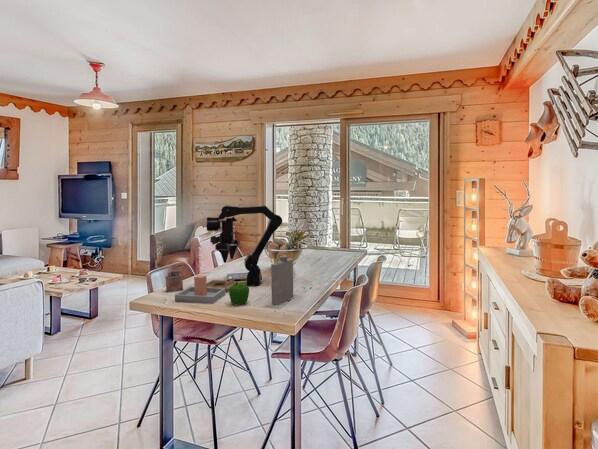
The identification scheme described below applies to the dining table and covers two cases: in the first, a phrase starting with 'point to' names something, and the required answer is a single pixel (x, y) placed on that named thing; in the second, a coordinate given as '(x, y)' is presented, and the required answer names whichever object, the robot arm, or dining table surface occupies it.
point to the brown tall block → (200, 285)
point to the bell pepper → (239, 293)
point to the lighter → (174, 281)
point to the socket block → (221, 284)
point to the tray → (190, 296)
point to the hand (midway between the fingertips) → (228, 260)
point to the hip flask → (282, 280)
